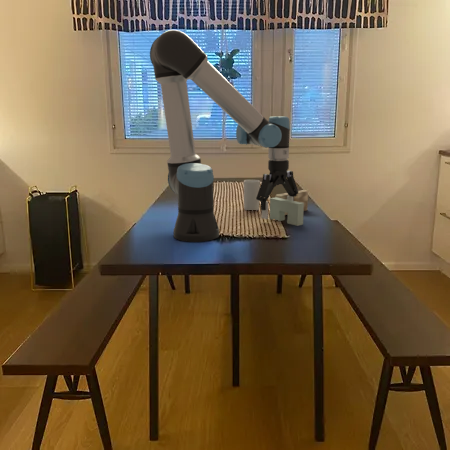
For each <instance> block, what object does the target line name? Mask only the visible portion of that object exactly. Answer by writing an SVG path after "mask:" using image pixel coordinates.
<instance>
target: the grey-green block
mask: <svg viewBox="0 0 450 450" xmlns="http://www.w3.org/2000/svg"><path fill="white" fill-rule="evenodd" d="M285 212H287V213H288V215H287V220H286V222H287V223H286V224H289V225H292V226H297V227H299V226H302V225H304V212H305V211H304V203H302V202H297V201H292V200H287V199H281V198H276V197H269V219H270V220H272V219H275V220H274V221H276V220H278V221H277V222H281V221H282V222H283V221H285V219H286V217H285V216H286V215H285Z"/></svg>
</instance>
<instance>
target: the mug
mask: <svg viewBox="0 0 450 450" xmlns="http://www.w3.org/2000/svg"><path fill="white" fill-rule="evenodd" d="M260 186H261V180H259V179H244V180H243V209H245V211H247V210H252V211H251V212H254V211H253V210H256V211H259V210H260V201H259V200H257V199H256V197H257V194H258V192H259V189H260Z"/></svg>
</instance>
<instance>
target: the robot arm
mask: <svg viewBox="0 0 450 450" xmlns="http://www.w3.org/2000/svg"><path fill="white" fill-rule="evenodd" d="M149 60H150V62H151V65H152V66H153V73H154V79H155V81H157V82H158V83H159V84H160V88H161V89H160V90H161V96H162V103H163V104H162V105H163V110H164V117H165V124H166V125H165V126H166V131H167V138H168V144H169V145H168V146H169V154H170V157H169V159H168V160H167V161H166V162H167V171H168V174H167V183H168V187H169V188H170V190H171V191H172V192H173V193H174V194H175V195H177V211H178V212H177V217H176V220H175V224H174V228H173V238H174V239H175V240H178V241H182V242H189V243H201V242H210V241H213V240H215V239H217V238H219V237H220V229H219V225H218V222H217V218H216V216H215V214H214V213H215V212H214V208H215V207H214V180H215V176H214V171H213V169H212V167H211V166H209V165H208V164H203V163H202V159H201V156H200V155H198V154H197V153H196V147H195V140H194V139H195V138H194V131H193V124H192V123H193V122H192V116H191V115H192V114H191V108H190V107H191V106H190V99H189V92H188V85H187V84H188V83H187V82H188V80H189V81H192V82H193V83H195V85H196V86H197V87H198V88H199V89H200V90H201V91H202V92H204V93H205V94H206V95H207V96H208V97H209V98H210V99H211V100H212V101H213V102H214V103H215V104H216V105H217V106H218V107H219V108H220V109H221V110H223V111H224V113H226V114H227V115H228V116H229V117H230V118H231V119H232V120H233V121H234V122H235V123H236V124H237V126H236V131H235V135H236V136H235V137H236V140H237V143H238V144H240V145H245V146H247V145H254V146H259V147H263V148H266V149H267V148H268V156H267V157H268V161H267V162H268V163H267V169H268V170H269V173H268V174H267V173H263V174H262V179H261V180H262V181H261V182H260V189H259V192H258V194H257V197H256V199H257V200H259V202H260V210H261V219H264V220H269V201H268V200H269V198H270V196H271V194H272V192H273V190H274V188H275V187H276V186H279V185H282V187H283V188H284V190H285V193H288V195H289V196H287V200H292V201H294V196H295V197H296V196H297V194H298V191H299V190H298V186H297V184H296V181H295V178H294V171H292V170H289V168H290V160H289V158H290V157H289V156H290V134H291V133H290V130H291V129H290V128H291V126H290V124H291V123H290V118H289V117H288V116H285V115H284V116H281V115H279V116H275V115H274V116H269V118H266V117H264V116H263V115H262V113H261V112H260V111H258V109H257V108H256V107H255V106H254V105H253V104H252V103H251V102H249V101H248V100H247V98H246V97H245V96H243V94H241V92H240V91H239V90H238V89H237V88H235V86H234V85H233V84H231V82H230V81H229V80H227V78H226V77H225V76H223V74H222V73H220V71H218V69H217V68H216V67H215V66H214V65H213V64H212V63H210V62H209V60H208V55H207V54H206V53H205V52H204V50H202V49H201V47H200V46H198V44H197V43H196V42H195V41H194V40H193V39H192V38H191V36H189V35H187V34H186V33H185V32H184V31H181V30H177V29H169V30H167V31H165V32H164V31H163V33H162V34H160V35H159V36H158V37H157V38H156V39H154V41H153V42H152V44H151V47H150V50H149ZM267 119H268V120H267Z"/></svg>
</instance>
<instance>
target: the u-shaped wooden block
mask: <svg viewBox="0 0 450 450" xmlns="http://www.w3.org/2000/svg"><path fill="white" fill-rule="evenodd" d="M287 196H289V195H288V193H287V192H285V193H277V194H275V197H276V198H281V199H287ZM275 197H274V198H275ZM294 201H297V202H302V203H304V211H303V212H306V211H308V207H309V206H308V205H309V203H308V201H309V191H308V190H306V189H305V190H303V189H302V190H298V194H297V196H296V197H295V196H294ZM286 215H287V216H288V213H287V212H285V216H286Z"/></svg>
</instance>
